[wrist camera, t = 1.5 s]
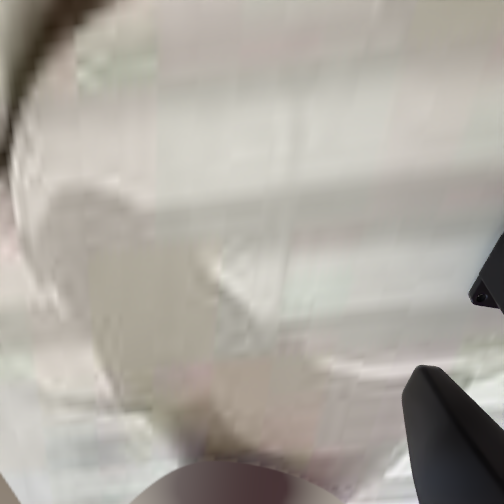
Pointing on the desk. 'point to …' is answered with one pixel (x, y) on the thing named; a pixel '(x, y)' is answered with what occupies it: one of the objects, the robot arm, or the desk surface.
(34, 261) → the desk surface
